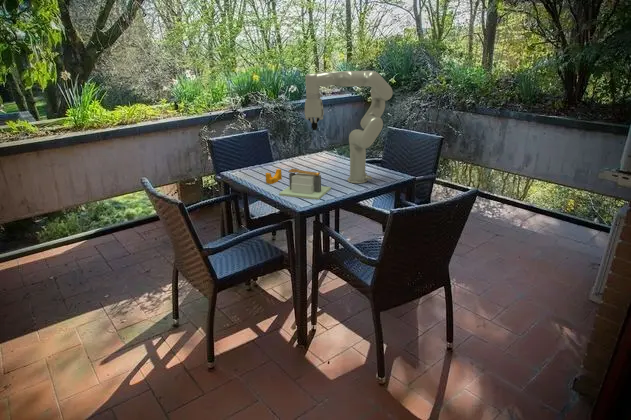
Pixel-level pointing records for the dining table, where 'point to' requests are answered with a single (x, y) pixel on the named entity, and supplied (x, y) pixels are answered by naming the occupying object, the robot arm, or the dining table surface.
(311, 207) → the dining table surface
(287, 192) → the board
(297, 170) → the strap
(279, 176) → the pipe clamp
